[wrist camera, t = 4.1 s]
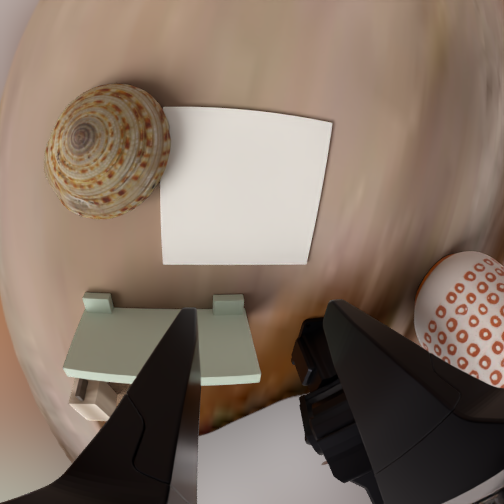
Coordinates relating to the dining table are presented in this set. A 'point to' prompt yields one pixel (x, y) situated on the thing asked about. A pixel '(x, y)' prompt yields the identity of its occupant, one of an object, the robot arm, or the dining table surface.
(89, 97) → the seashell
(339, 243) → the dining table surface
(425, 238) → the dining table surface
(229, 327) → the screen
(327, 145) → the tile
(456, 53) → the dining table surface
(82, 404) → the small beige block
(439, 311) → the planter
